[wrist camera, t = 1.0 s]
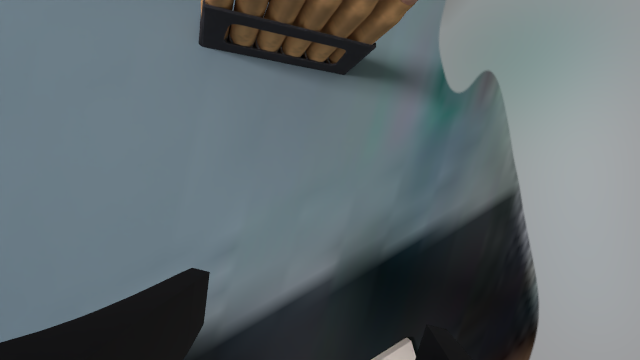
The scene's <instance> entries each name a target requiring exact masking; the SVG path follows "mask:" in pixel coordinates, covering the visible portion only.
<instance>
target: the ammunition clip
mask: <svg viewBox="0 0 640 360" xmlns="http://www.w3.org/2000/svg"><path fill="white" fill-rule="evenodd" d="M417 1H418V0H235V5H234V11H232V9H233V2H234V0H201V19H200V33H199V44H200V45H201V46H202V47H207V48H212V49H217V50H222V51H227V52H232V53H237V54H242V55H247V56H252V57H257V58H262V59H267V60H272V61H277V62H282V63H287V64H292V65H297V66H302V67H307V68H312V69H317V70H322V71H327V72H332V73H337V74H342V75H345V74H346V73H347V72H348V71H349V70H350V69H352V68H353V67H354V66H355V65H356V64H357V63H359V62H360V61H361V60H362V59H363V58H364V57H365V56H367V55H368V54H369V53H370V52H371V51H372V50H374V49H375V48H376V43H374V42H375V41H377V40H378V39H379V38H380V37H381V36H383V35H384V34H385V33H386V32H387V31H389V30H390V29H391V28H392V27H393V26H395V25H396V24H397V23H398V22H399V21H400V20H401V19H402V17H403V16H404V14H405V13H406V12H407V11H408V10H409V9H410V8H411V7H412V6H413V5H414V4H415V3H416V2H417ZM268 2H269V4H268ZM267 5H268V7H267ZM266 8H267V10H266ZM265 11H266V12H265ZM264 14H265V15H264ZM263 16H264V18H263ZM373 43H374V44H373ZM372 44H373V45H372Z"/></svg>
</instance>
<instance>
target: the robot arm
mask: <svg viewBox="0 0 640 360" xmlns="http://www.w3.org/2000/svg"><path fill="white" fill-rule="evenodd" d="M209 273H210V272H207V271H203V270H199V269H195V268H191V269H188V270H186V271H184V272H182V273H179V274H177V275H175V276H173V277H171V278H169V279H167V280H165V281H163V282H161V283H158V284H156V285H154V286H152V287H150V288H148V289H146V290H143V291H141V292H139V293H137V294H135V295H133V296H131V297H128V298H126V299H123V300H121V301H119V302H116V303H114V304H112V305H109V306H107V307H104V308H102V309H100V310H97V311H95V312H93V313H90V314H87V315H85V316H82V317H79V318H77V319H74V320H71V321H68V322H65V323H63V324H60V325H57V326H54V327H51V328H48V329H45V330H42V331H39V332H36V333H32V334H29V335H25V336H22V337H18V338H15V339H11V340H8V341H5V342H1V343H0V360H183V359H184V357H185V356H186V354H187V353H188V351H189V349H190V348H191V346H192V344H193V342H194V341H195V339H196V337H197V335H198V333H199V331H200V330H201V328H202V326H203V324H204V316H205V307H206V299H207V290H208V281H209ZM415 360H472V359H471V357H470V356H469V355H468V354H467V353H466V352H465V350H464V349H463V348H462V347H461V346H460V344H459V343H458V342H457V341H456V340H455V339H454V338H453V336H452V335H451V334H450V333H449V332H448V331H447V330H446V329H442V328H438V327H434V326H430V325H427V326H426V329H425V332H424V335H423V338H422V340H421V343H420V346H419V349H418V352H417V355H416V358H415Z"/></svg>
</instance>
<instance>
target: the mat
mask: <svg viewBox="0 0 640 360" xmlns="http://www.w3.org/2000/svg"><path fill="white" fill-rule="evenodd" d="M415 358H416V355H415V352H414V348H413V345H412V342H411V340H409V339H408V338H405V339H403V340H402V341H400V342H399V343H397V344H395V345H394V346H392V347H391V348H389V349H387V350H386V351H384V352H383V353H381V354H379V355H378V356H376V357H375V358H373V359H371V360H415Z"/></svg>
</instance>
